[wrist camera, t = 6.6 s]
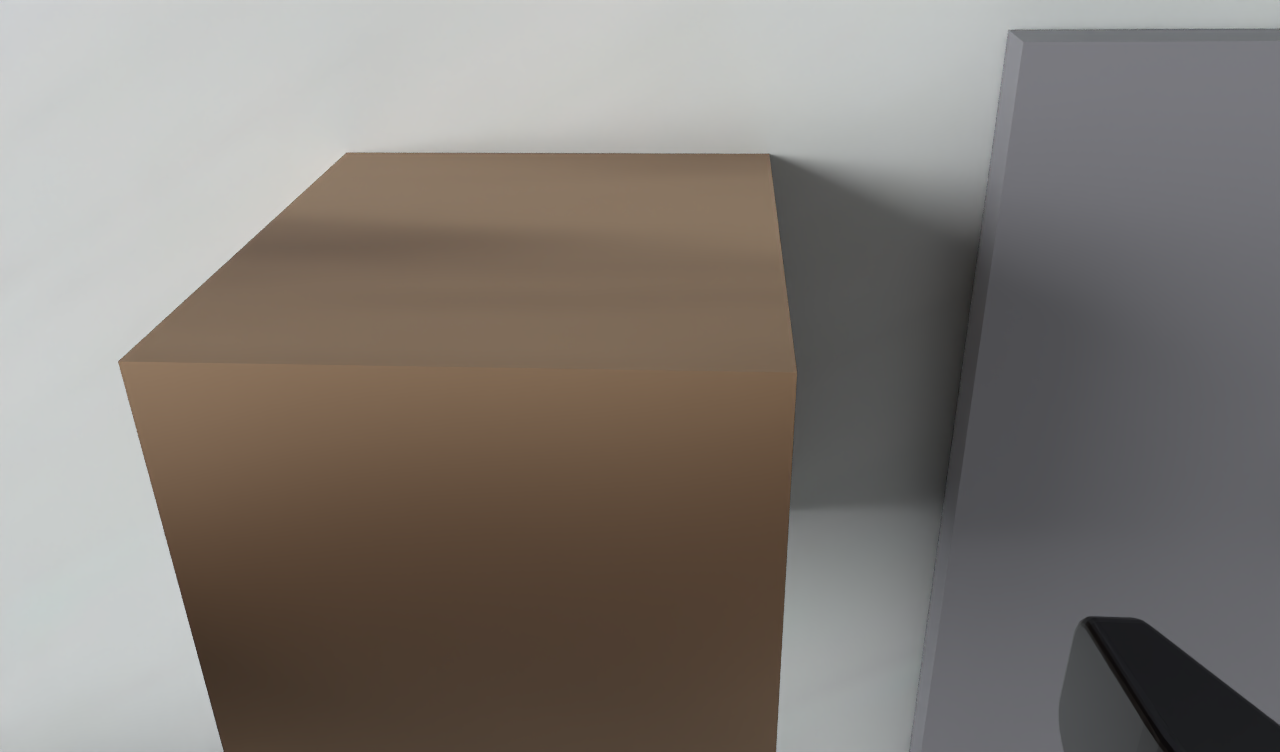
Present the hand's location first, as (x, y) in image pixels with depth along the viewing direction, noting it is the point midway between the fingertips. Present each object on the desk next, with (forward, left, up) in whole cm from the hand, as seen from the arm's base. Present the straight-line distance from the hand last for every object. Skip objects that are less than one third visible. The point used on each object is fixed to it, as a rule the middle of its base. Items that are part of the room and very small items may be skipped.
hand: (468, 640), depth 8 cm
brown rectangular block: (0, 0, -5) cm, 5 cm away
